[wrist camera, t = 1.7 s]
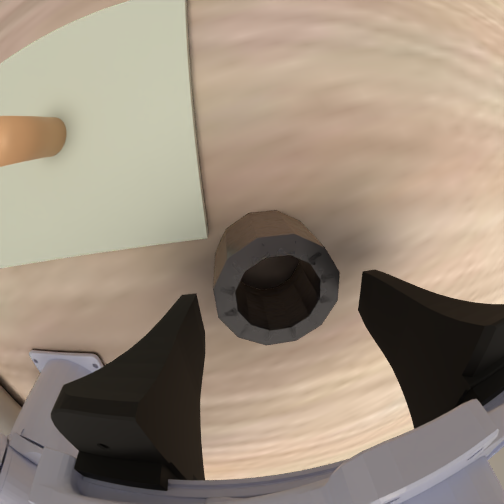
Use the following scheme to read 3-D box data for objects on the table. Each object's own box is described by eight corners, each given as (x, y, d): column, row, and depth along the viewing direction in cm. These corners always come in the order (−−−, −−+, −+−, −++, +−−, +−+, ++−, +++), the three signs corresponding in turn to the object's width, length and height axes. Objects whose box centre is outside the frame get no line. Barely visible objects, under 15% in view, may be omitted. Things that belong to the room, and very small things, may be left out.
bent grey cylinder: (102, 463, 24) (-14, 359, 16) (80, 520, 14) (-56, 423, 7) (48, 441, 28) (-32, 360, 21) (29, 482, 19) (-61, 401, 11)
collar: (312, 294, 17) (334, 333, 13) (223, 306, 17) (224, 350, 13) (312, 206, 15) (341, 228, 11) (210, 217, 14) (205, 243, 11)
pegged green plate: (208, 232, 15) (201, 280, 10) (5, 263, 14) (-38, 299, 9) (186, -4, 9) (173, -59, 4) (-18, 84, 8) (-67, 83, 3)
